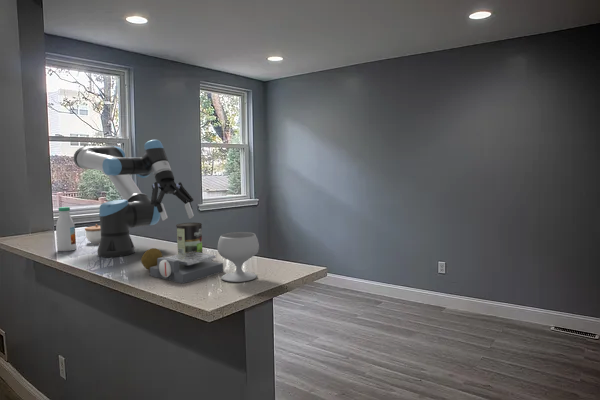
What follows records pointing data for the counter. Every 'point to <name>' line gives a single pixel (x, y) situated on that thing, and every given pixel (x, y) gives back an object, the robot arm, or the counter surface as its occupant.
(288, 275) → the counter surface
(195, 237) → the coffee can
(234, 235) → the chalice
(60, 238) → the milk bottle
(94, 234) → the lidded jar
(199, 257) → the platform
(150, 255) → the potato
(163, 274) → the scale base
